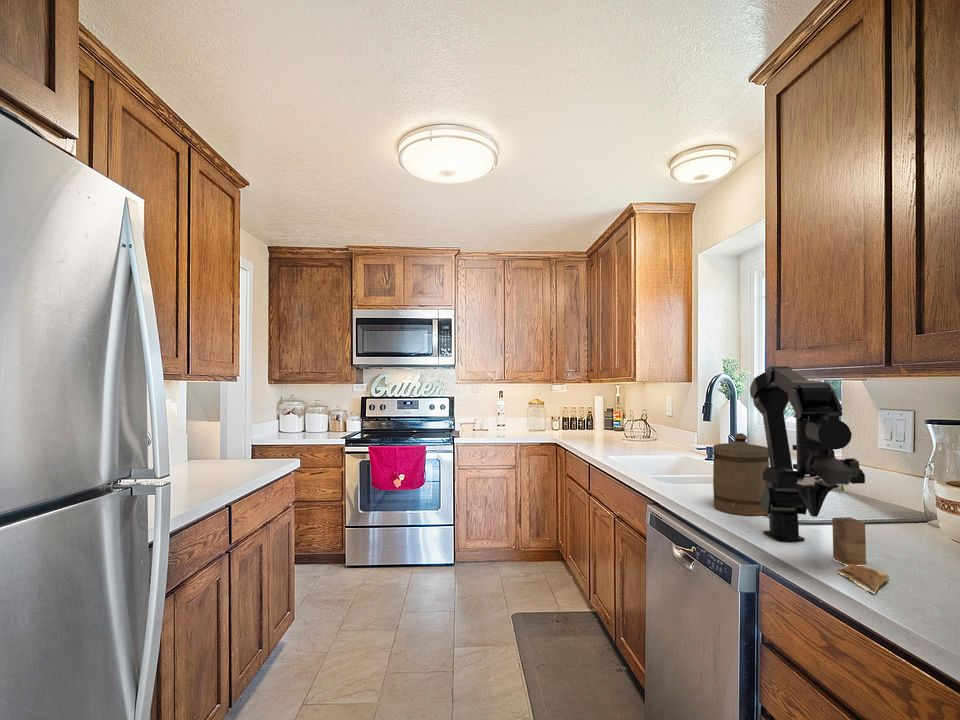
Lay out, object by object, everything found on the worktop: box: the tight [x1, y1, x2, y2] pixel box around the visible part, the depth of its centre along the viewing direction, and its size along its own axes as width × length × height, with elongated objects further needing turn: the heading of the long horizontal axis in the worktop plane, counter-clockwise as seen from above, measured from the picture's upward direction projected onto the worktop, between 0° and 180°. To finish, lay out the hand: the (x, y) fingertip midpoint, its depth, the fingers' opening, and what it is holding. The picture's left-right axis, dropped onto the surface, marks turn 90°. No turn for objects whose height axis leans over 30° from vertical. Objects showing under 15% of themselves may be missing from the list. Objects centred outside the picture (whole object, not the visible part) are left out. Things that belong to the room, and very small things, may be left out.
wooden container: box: [712, 432, 770, 517], centre depth 151 cm, size 15×15×22 cm
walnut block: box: [831, 516, 867, 566], centre depth 109 cm, size 4×4×9 cm
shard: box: [837, 564, 890, 592], centre depth 100 cm, size 11×8×2 cm
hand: (813, 516), depth 108 cm, fingers closed
